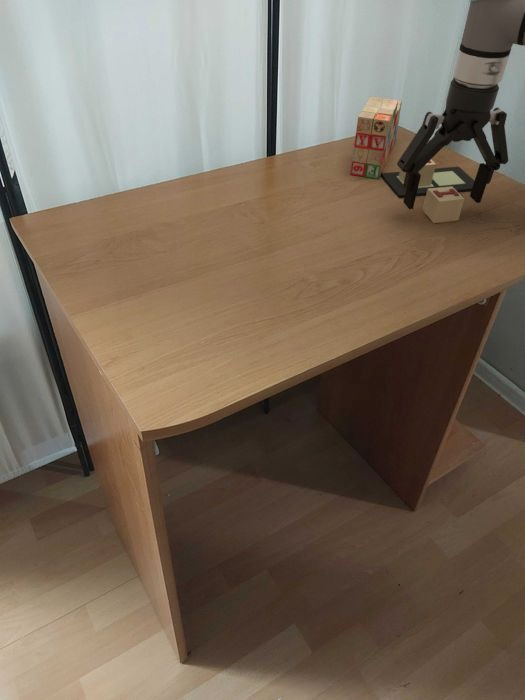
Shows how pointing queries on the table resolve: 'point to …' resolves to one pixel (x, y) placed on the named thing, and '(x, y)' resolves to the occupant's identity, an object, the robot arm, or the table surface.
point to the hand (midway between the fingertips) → (441, 202)
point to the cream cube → (423, 174)
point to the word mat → (433, 181)
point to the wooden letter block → (443, 204)
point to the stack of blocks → (375, 136)
